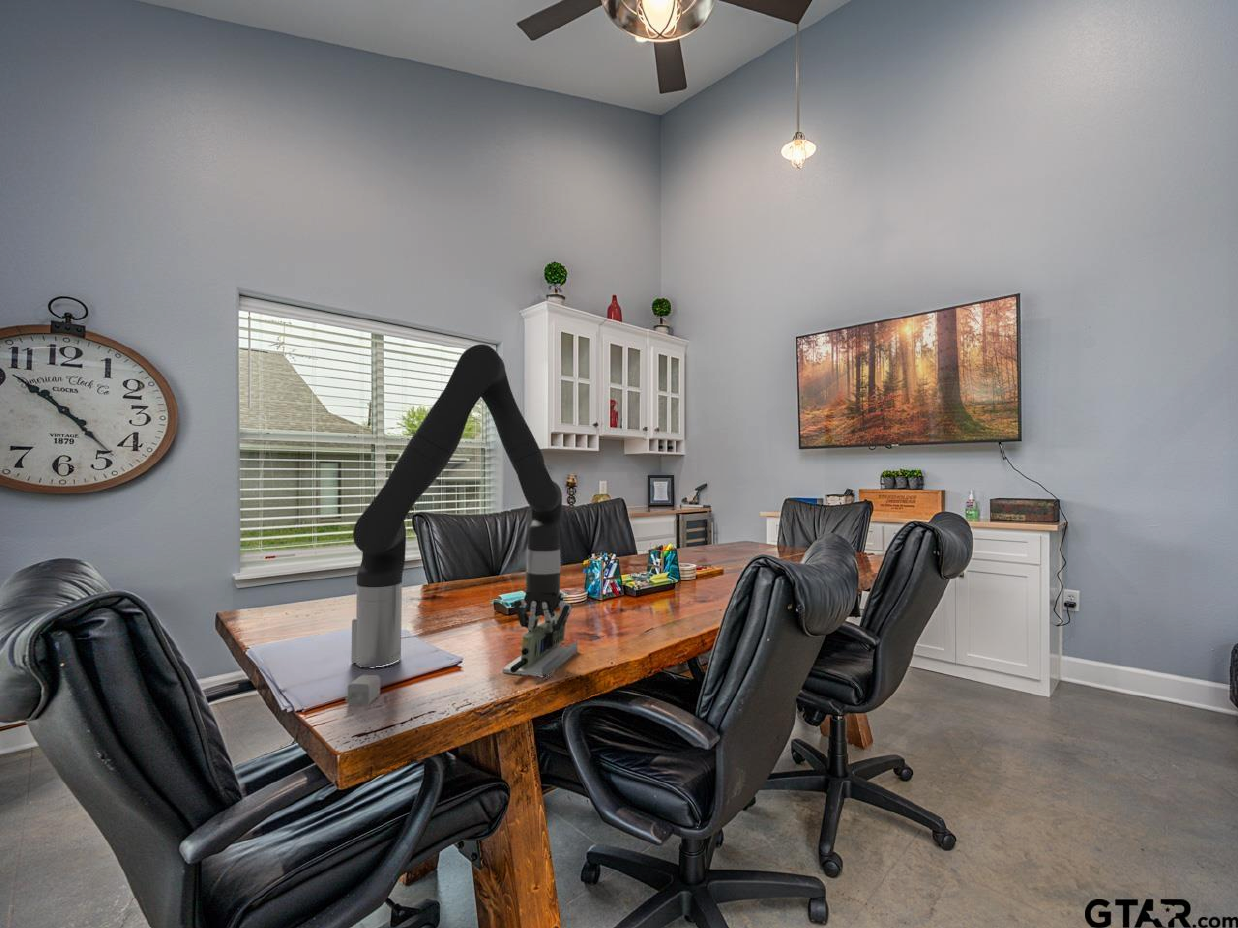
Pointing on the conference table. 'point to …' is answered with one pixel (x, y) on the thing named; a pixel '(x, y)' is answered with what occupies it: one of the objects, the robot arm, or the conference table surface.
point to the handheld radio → (536, 645)
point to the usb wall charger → (363, 690)
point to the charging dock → (546, 661)
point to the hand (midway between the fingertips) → (542, 646)
